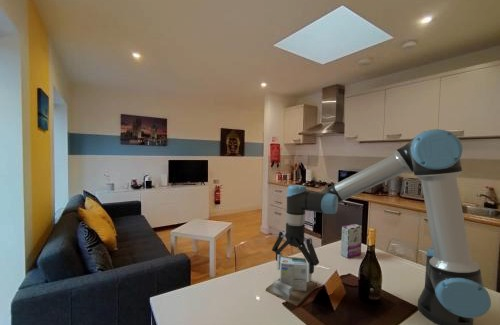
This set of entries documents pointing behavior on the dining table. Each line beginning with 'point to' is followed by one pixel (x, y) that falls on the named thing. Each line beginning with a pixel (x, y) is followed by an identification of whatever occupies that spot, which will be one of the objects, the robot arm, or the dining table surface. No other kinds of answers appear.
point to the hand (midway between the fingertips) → (293, 274)
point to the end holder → (290, 291)
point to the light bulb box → (294, 272)
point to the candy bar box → (351, 240)
